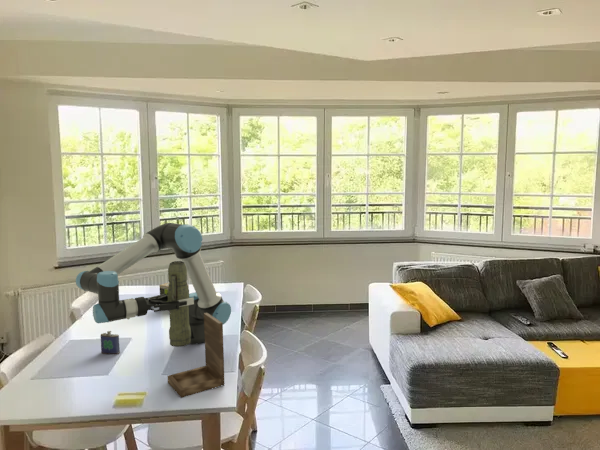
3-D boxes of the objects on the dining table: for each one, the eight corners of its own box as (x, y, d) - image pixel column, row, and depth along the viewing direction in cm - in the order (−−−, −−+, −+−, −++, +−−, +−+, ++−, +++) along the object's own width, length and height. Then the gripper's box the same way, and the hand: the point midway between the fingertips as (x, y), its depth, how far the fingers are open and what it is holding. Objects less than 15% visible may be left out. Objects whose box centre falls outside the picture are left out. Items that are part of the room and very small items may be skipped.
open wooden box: (209, 371, 205) (207, 312, 202) (224, 385, 193) (222, 322, 189) (167, 382, 195) (164, 321, 192) (181, 398, 183) (178, 332, 179)
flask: (121, 352, 226) (119, 330, 224) (117, 355, 223) (115, 333, 221) (103, 351, 228) (101, 329, 226) (99, 353, 225) (98, 331, 223)
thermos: (193, 337, 211) (190, 259, 207) (188, 348, 200) (184, 265, 195) (173, 338, 211) (169, 259, 206) (166, 348, 199) (162, 265, 195)
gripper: (128, 309, 202) (180, 300, 215) (143, 324, 184) (199, 313, 197) (127, 292, 201) (179, 283, 213) (142, 305, 183) (198, 295, 196)
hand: (189, 298), depth 205 cm, fingers closed on thermos, 9 cm apart
